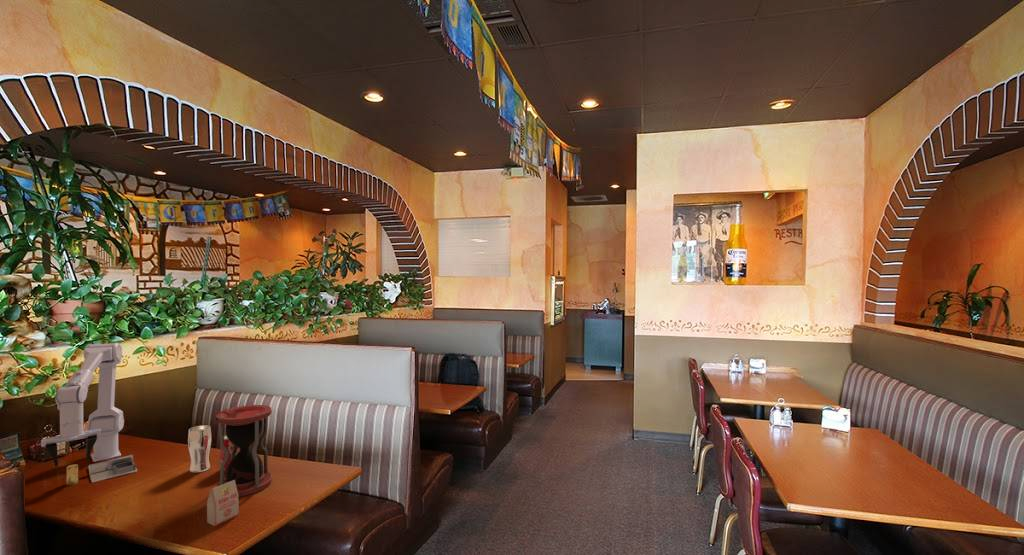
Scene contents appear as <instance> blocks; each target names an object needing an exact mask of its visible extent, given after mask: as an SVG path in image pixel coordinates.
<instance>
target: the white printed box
mask: <svg viewBox="0 0 1024 555" xmlns="http://www.w3.org/2000/svg"><path fill="white" fill-rule="evenodd" d="M239 509H240V507H239V496H238V491H237V488H236V483H235V480H233V481H230V482H227V483H225V484H222V485H220V486H217V485H216V486H215V487H213V488H211V489H210V490H209V495H208V498H207V501H206V521H207V522H206V523H207V524H209V525H211V526H214V527H216V526H218V525H221V524H222V523H224V522H227V521H229V520H230V519H233V518H235V517H238V516H239V515H240V514H239Z"/></svg>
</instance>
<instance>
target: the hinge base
mask: <svg viewBox="0 0 1024 555" xmlns="http://www.w3.org/2000/svg"><path fill="white" fill-rule="evenodd" d="M105 462H106V461H101V462H100V461H99V462H97V463H96V462H95V463H92V464H89V465H88V466H89V468H88V472H89V473H88V474H89V478H90V481H91V483H96V482H100V481H104V480H110V479H113V478H117V477H121V476H125V475H129V474H133V473H137V472H138V468H137V467H136V463H135V462H134V460H133V461H129V462H124V463H120V464H116V465H113V469H112V470H108V471H107V470H105Z"/></svg>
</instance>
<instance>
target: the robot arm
mask: <svg viewBox="0 0 1024 555" xmlns="http://www.w3.org/2000/svg"><path fill="white" fill-rule="evenodd" d="M82 353H83V358H84V360H83V362H82V365H81V366H80V369H77V370H75V371H74V372H73V374H72V375H70V378H69V379H68V381H67V382H66V383H65V385H64V386H62V387H61V388H58V390H57V391H56V393H55V397H54V400H55V403H56V405H57V411H59V435H55V436H51V437H47V438H44V439H41V440H40V446H41V448H43V447H45V448H46V451H47V452H48V453H49V454H50V456H51V459H52V461H53V463H54V467H59V466H58V465H59V463H58V445H57V444H61V443H62V444H63V443H67V442H72V441H77V440H81V439H82V440H83V439H86V441H85V442H86V449H85V450H86V453H85V459H86V460H90V457H91V459H92V463H93V462H94V463H96V462H100V461H104V460H110V459H115V458H119V457H122V454H121V451H120V450H119V432H120V431H122V430H123V428H124V426H125V418H124V411H123V410H121V409H120V408H118V407H115V400H116V399H115V397H116V396H115V394H116V393H115V392H116V375H117V374H116V372H117V365H118V364H119V365H120V364H121V363H122V358H123V356H122V355H123V347H122V346H121V344H120V343H119V342H114V343H113V342H112V343H93V344H92V343H88V344H87V345H85V347H84V349H83V352H82ZM97 368H98V369H99V371H98V393H97V409H96V410H94V411H93V412H92V413H90V414H89V416H88V419H87V420H88V421H87V423H86V430H84V402H85V401H86V399H87V397H88V391H89V386H90V384H91V383H92V381H93V380H94V377H95V376H94V373H95V371H96V369H97ZM92 450H93V453H92Z"/></svg>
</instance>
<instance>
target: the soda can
mask: <svg viewBox="0 0 1024 555" xmlns="http://www.w3.org/2000/svg"><path fill="white" fill-rule="evenodd" d="M224 445H225V447H226V448H228V449H229V452H230V456H229V460H228V461H227V463H226V464H225V467H224V473H226V470H227V466H228V464H229V462H230V461H231V454H232V451H233V443H232V442H231V441H230V440H229V439H228V438H227V436H226V434H224ZM239 451H240V448H239V447H238V448H237V451H236V454H237V453H238V452H239ZM236 454H235V455H236ZM219 458H220V459H219V462H220V463H219V464H220V465H219V466H220V467H221V464H222V462H223V461H224V458H225V452H224V450H223V449H222V448H221V446H220V445H219Z"/></svg>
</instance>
